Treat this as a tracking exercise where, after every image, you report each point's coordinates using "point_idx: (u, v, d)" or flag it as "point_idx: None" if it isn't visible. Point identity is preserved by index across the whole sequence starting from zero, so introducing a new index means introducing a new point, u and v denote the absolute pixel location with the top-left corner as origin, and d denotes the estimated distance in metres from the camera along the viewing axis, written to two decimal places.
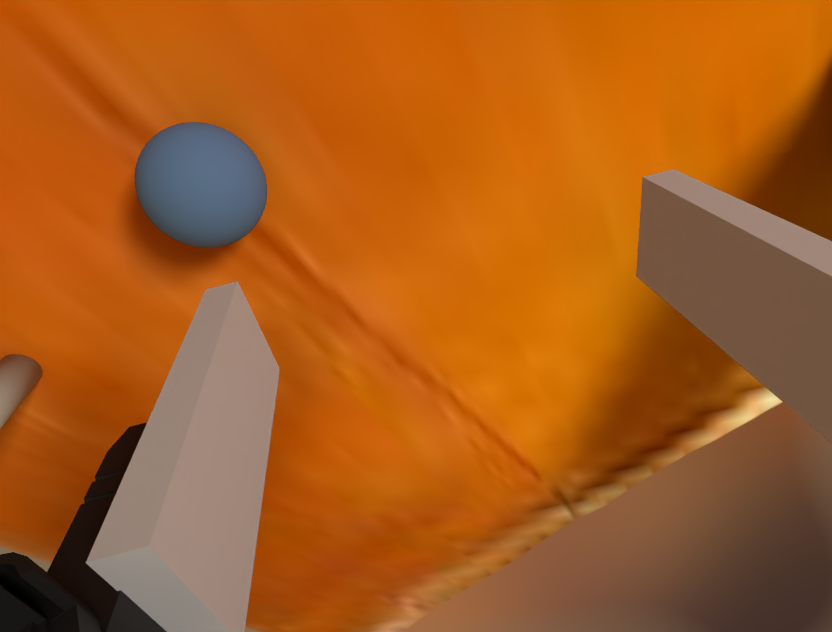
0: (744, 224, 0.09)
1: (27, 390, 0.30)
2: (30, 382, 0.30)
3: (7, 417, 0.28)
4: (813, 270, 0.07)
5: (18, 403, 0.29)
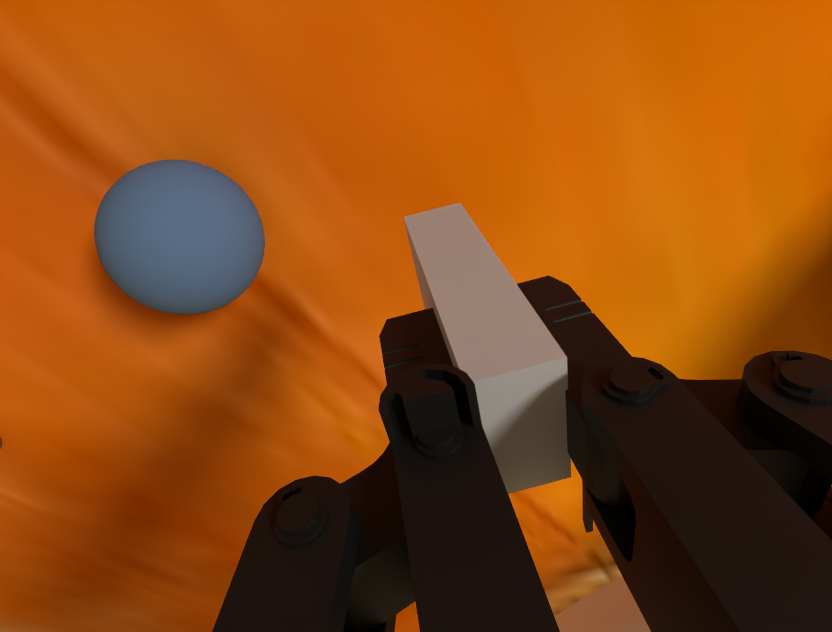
0: (467, 260, 0.10)
1: None
2: None
3: None
4: (483, 307, 0.08)
5: None
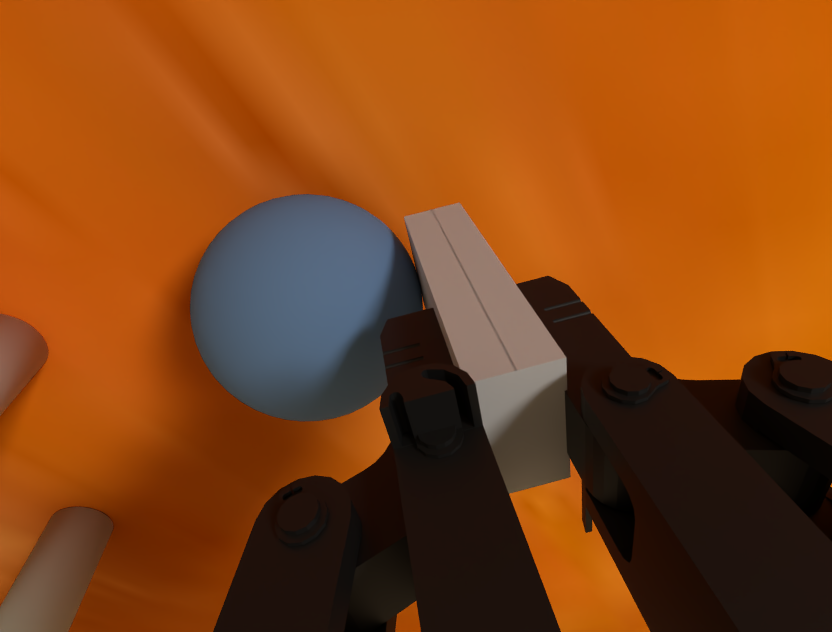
0: (466, 261, 0.10)
1: (95, 567, 0.19)
2: (99, 552, 0.20)
3: (69, 628, 0.17)
4: (482, 307, 0.08)
5: (83, 595, 0.18)
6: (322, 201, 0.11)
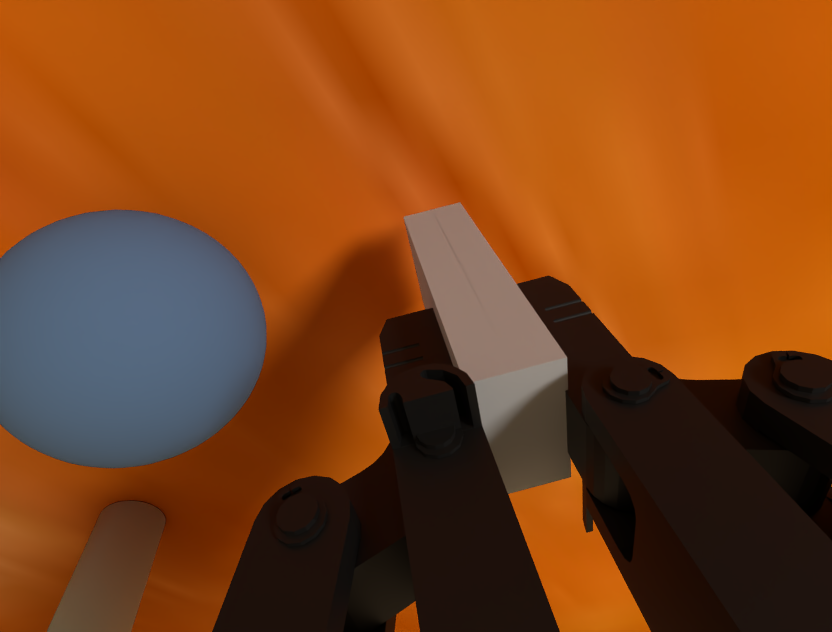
0: (467, 261, 0.10)
1: (151, 565, 0.18)
2: (154, 549, 0.18)
3: (130, 631, 0.16)
4: (482, 307, 0.08)
5: None
6: (16, 248, 0.09)
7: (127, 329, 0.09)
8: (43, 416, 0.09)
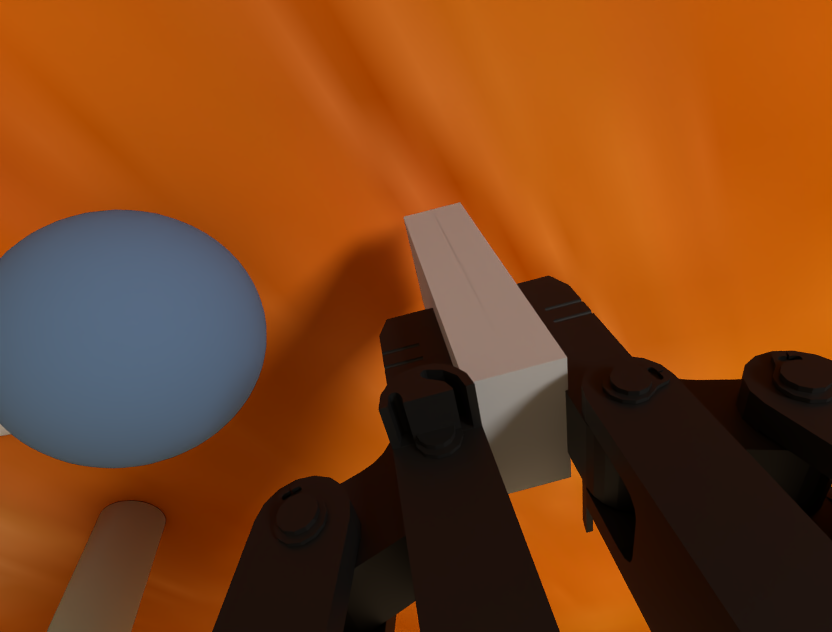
0: (467, 261, 0.10)
1: (151, 565, 0.18)
2: (154, 549, 0.18)
3: (130, 631, 0.16)
4: (482, 307, 0.08)
5: (142, 595, 0.17)
6: (16, 248, 0.09)
7: (127, 329, 0.09)
8: (43, 416, 0.09)
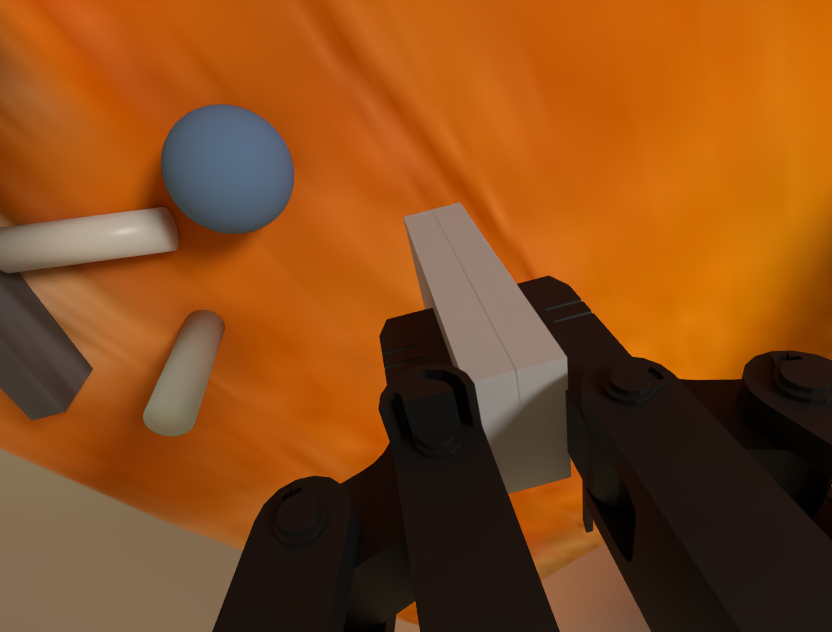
0: (467, 261, 0.10)
1: (219, 345, 0.30)
2: (220, 337, 0.30)
3: (211, 369, 0.28)
4: (482, 307, 0.08)
5: (215, 357, 0.29)
6: (186, 116, 0.21)
7: (239, 146, 0.21)
8: (203, 183, 0.21)
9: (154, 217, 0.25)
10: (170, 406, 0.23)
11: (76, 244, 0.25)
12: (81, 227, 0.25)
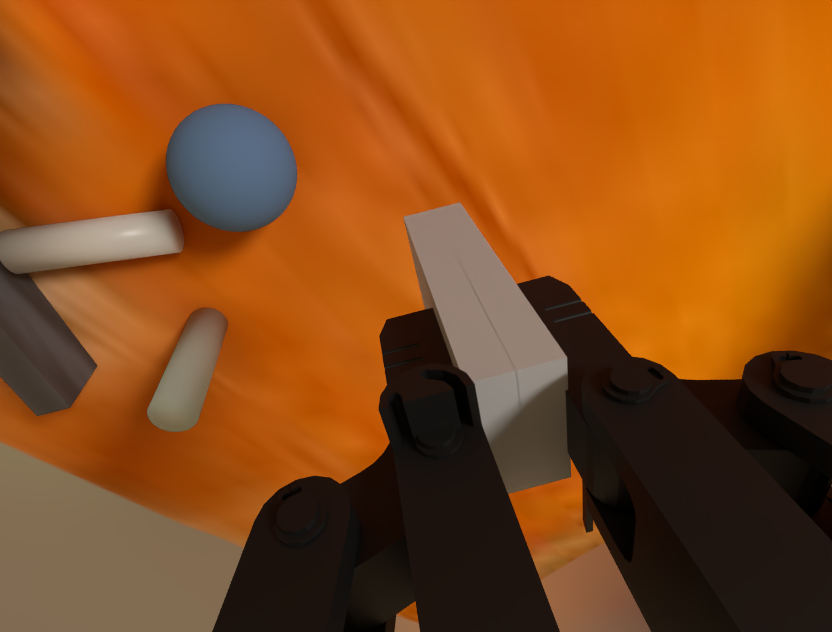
0: (467, 261, 0.10)
1: (222, 342, 0.30)
2: (223, 334, 0.30)
3: None
4: (483, 307, 0.08)
5: (218, 354, 0.29)
6: (191, 115, 0.22)
7: (242, 145, 0.21)
8: (208, 181, 0.21)
9: (160, 223, 0.25)
10: (174, 402, 0.24)
11: (86, 250, 0.25)
12: (89, 233, 0.25)
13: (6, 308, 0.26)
